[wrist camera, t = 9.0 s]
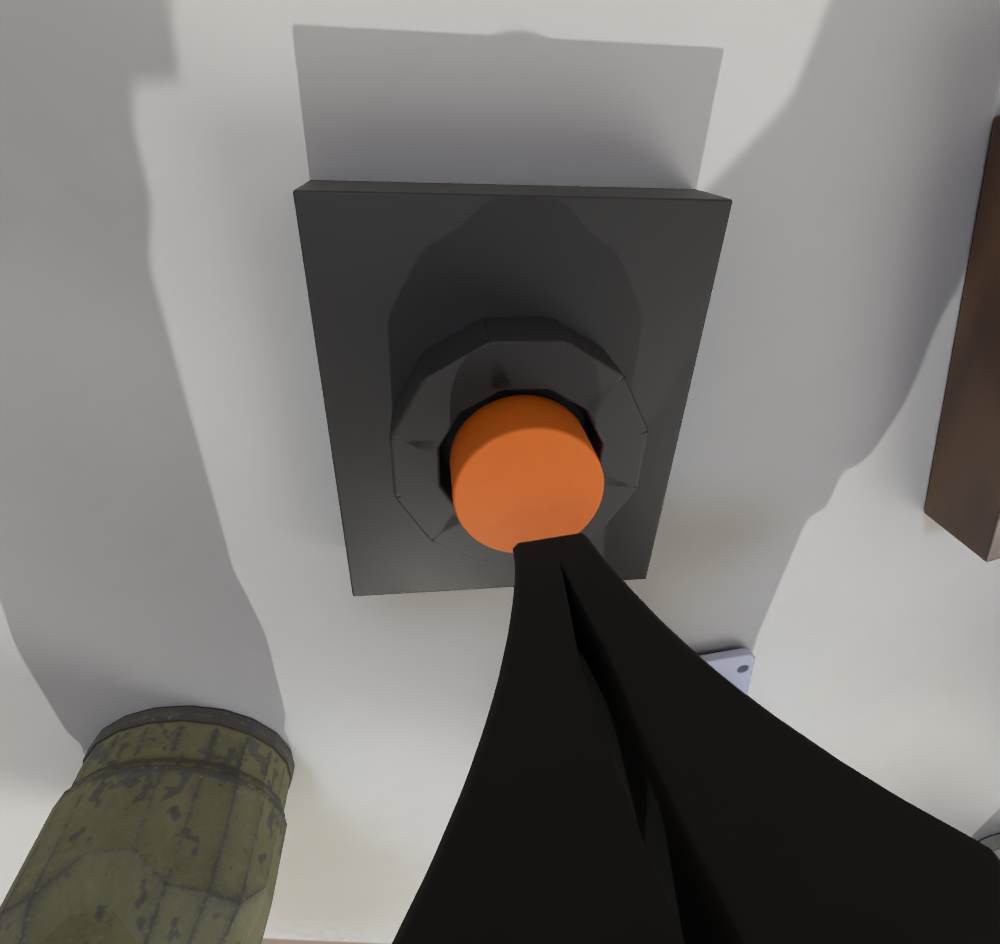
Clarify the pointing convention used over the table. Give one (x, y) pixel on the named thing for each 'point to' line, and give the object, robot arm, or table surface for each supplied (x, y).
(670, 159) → the table surface
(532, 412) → the button
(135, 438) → the table surface
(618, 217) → the button base
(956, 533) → the dial panel
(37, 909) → the thermos
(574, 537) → the robot arm
